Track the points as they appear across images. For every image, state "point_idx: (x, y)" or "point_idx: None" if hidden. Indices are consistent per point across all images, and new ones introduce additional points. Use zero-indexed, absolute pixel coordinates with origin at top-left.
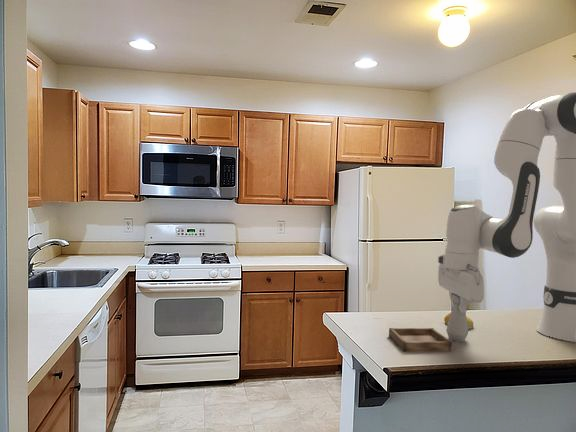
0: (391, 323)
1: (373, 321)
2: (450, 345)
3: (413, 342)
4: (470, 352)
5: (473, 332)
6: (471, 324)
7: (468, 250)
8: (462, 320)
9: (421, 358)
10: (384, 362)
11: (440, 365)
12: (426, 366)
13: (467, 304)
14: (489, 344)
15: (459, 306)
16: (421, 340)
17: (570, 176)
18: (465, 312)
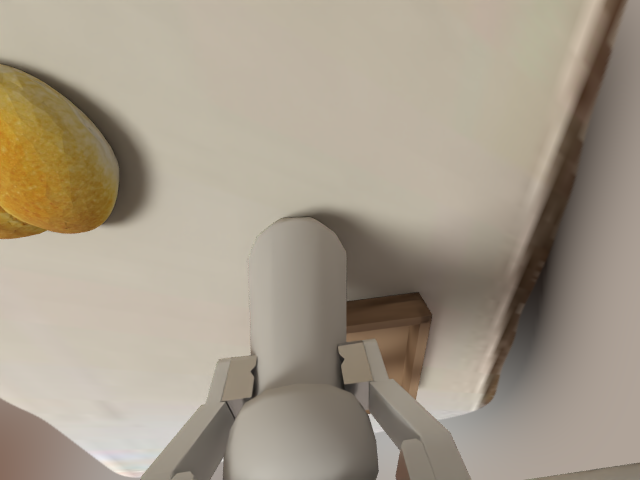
0: (157, 388)
1: (157, 418)
2: (426, 308)
3: (416, 393)
4: (439, 238)
5: (151, 115)
6: (54, 103)
7: None
8: (345, 302)
9: (453, 360)
10: (456, 409)
11: (505, 335)
12: (499, 358)
13: (413, 401)
14: (355, 111)
15: (365, 404)
16: None
17: None
18: (373, 339)
